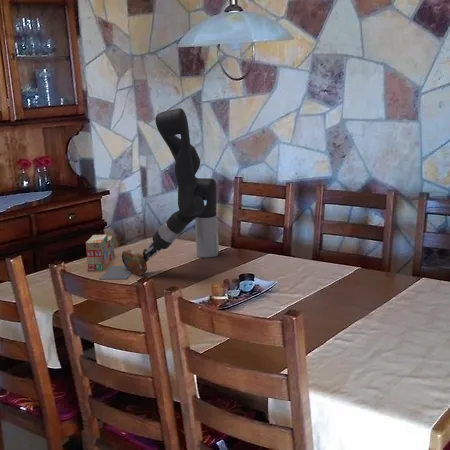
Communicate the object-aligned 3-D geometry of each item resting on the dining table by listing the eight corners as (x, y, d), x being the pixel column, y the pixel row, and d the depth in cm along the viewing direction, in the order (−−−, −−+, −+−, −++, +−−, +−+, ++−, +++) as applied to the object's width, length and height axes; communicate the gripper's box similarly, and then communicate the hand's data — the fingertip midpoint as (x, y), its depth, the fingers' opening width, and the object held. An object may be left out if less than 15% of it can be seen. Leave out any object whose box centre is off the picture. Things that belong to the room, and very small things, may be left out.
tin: (123, 268, 256) (118, 249, 253) (130, 265, 258) (125, 246, 254) (143, 277, 245) (139, 258, 241) (150, 274, 246) (145, 255, 243)
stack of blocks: (100, 256, 277) (98, 229, 274) (114, 256, 277) (112, 229, 274) (88, 271, 256) (85, 242, 253) (103, 271, 256) (100, 241, 253)
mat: (137, 266, 260) (137, 265, 260) (126, 279, 243) (126, 278, 243) (111, 266, 261) (111, 265, 261) (99, 279, 245) (98, 278, 244)
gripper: (169, 223, 248) (145, 251, 256) (151, 231, 236) (126, 259, 244) (181, 237, 247) (157, 264, 255) (164, 246, 235) (139, 274, 243)
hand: (142, 262), depth 250 cm, fingers closed
